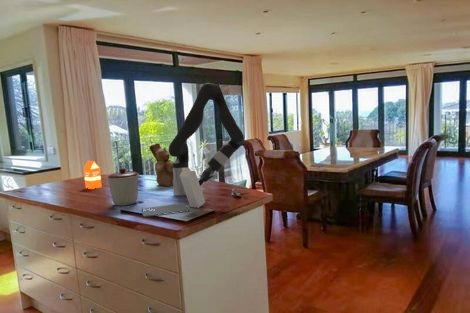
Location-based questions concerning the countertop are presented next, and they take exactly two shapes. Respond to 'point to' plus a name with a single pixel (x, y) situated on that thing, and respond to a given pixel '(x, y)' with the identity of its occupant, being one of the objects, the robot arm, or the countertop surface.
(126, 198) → the canister
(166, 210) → the mat
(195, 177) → the milk
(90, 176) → the orange juice
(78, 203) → the countertop surface
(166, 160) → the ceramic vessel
